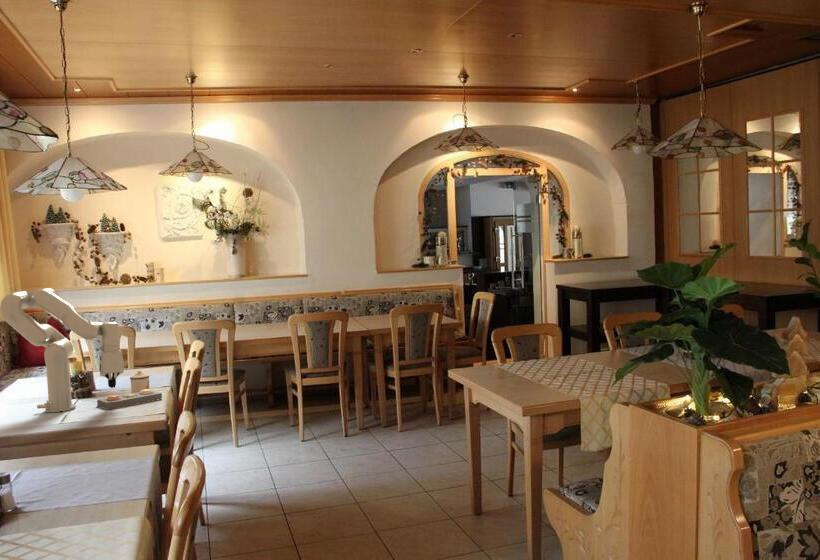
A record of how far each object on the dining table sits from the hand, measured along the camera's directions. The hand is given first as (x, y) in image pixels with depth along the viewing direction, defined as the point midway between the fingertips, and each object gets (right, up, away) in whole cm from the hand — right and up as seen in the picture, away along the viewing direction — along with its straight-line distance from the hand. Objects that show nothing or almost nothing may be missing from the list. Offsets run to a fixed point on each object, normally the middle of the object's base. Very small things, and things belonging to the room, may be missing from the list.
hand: (112, 387), depth 326 cm
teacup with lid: (+2, -8, +27) cm, 28 cm away
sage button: (+6, -8, +6) cm, 12 cm away
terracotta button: (0, -7, 0) cm, 7 cm away
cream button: (+11, -6, +12) cm, 18 cm away
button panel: (+6, -8, +6) cm, 12 cm away
